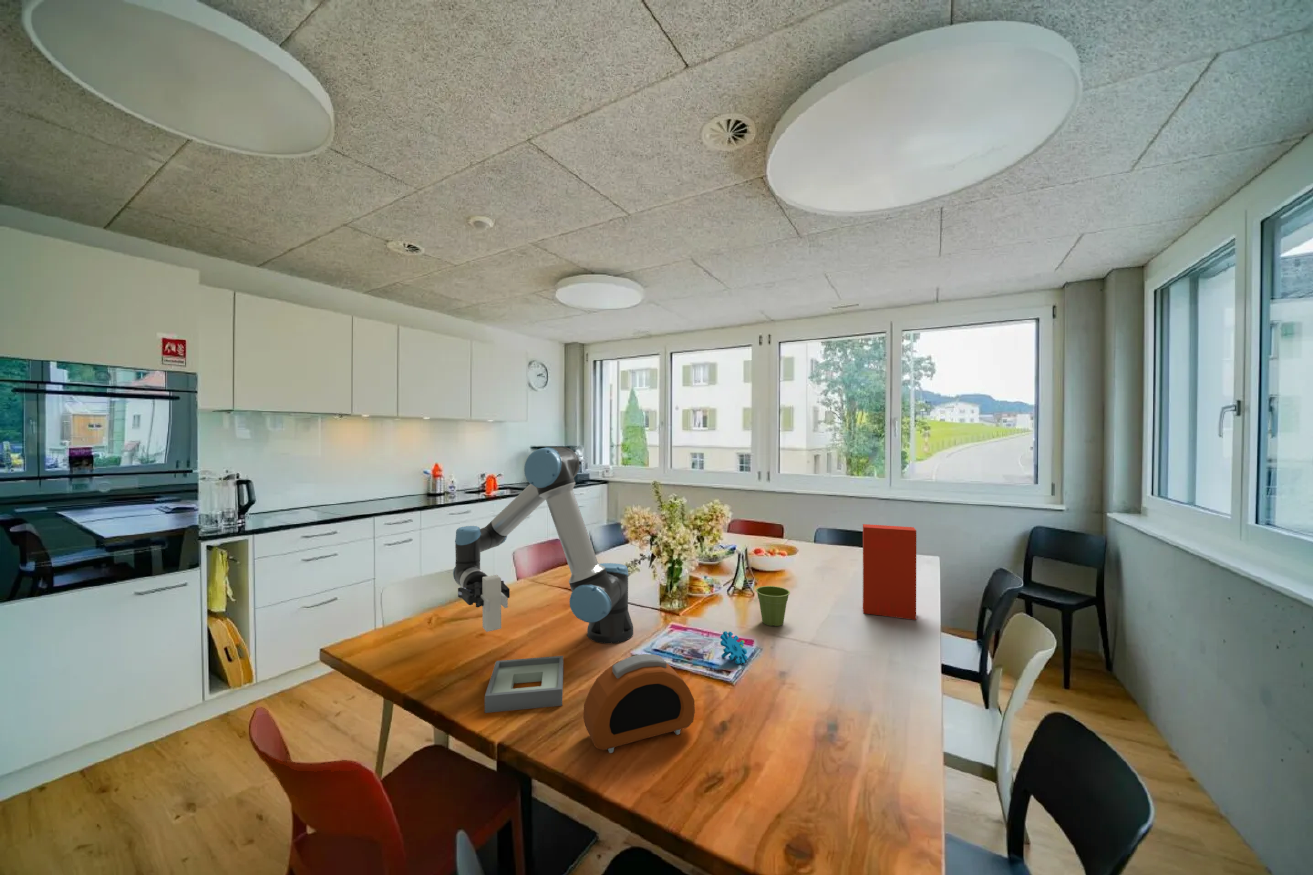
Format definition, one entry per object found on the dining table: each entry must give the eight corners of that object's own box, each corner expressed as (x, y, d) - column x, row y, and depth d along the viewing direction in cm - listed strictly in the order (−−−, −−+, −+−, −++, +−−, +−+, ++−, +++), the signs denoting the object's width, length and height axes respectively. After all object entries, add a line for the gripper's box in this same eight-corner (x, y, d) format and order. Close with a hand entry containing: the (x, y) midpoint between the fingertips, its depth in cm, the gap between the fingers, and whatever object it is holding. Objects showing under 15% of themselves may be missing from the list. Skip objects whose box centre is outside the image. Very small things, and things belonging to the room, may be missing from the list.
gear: (736, 665, 134) (717, 632, 139) (723, 676, 136) (704, 643, 141) (756, 657, 142) (737, 626, 147) (742, 667, 144) (724, 636, 150)
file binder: (862, 606, 185) (862, 523, 185) (913, 612, 179) (913, 526, 178) (863, 613, 177) (863, 527, 177) (916, 620, 171) (916, 530, 171)
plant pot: (794, 620, 171) (794, 589, 171) (783, 632, 161) (784, 598, 161) (762, 614, 177) (762, 583, 177) (750, 624, 167) (750, 592, 167)
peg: (497, 623, 137) (496, 574, 136) (501, 628, 133) (501, 578, 133) (482, 626, 134) (482, 577, 134) (486, 631, 131) (486, 580, 131)
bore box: (563, 669, 135) (563, 655, 135) (562, 705, 117) (562, 689, 117) (496, 675, 131) (496, 660, 131) (484, 712, 114) (484, 695, 114)
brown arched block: (593, 760, 97) (594, 677, 97) (582, 734, 105) (582, 658, 105) (696, 731, 107) (696, 656, 107) (678, 710, 115) (678, 640, 115)
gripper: (503, 589, 153) (528, 611, 134) (445, 600, 144) (464, 625, 124) (503, 566, 153) (528, 585, 134) (445, 575, 144) (464, 596, 124)
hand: (497, 604), depth 129 cm, fingers closed on peg, 4 cm apart
